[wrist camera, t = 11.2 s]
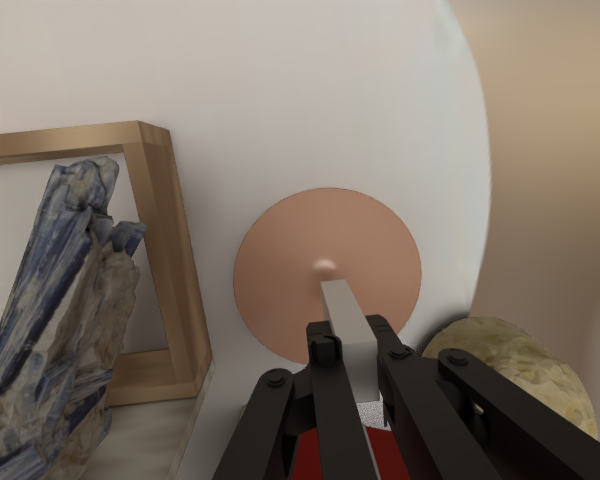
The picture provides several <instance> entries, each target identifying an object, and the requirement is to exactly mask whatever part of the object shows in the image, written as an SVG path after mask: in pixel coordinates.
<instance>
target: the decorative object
mask: <svg viewBox="0 0 600 480" xmlns="http://www.w3.org/2000/svg"><path fill="white" fill-rule="evenodd" d="M446 348H458V349H461V350H465V351H467V352H469V353H471V354H472V355H474V356H475V357H477V358H478V359H480V360H481V361H483V362H484V363H486V364H487V365H488V366H490V367H491V368H493V369H494V370H496V371H497V372H499V373H500V374H501V375H503V376H504V377H506V378H507V379H509V380H510V381H512V382H513V383H514V384H516V385H517V386H519V387H520V388H522V389H523V390H525V391H526V392H527V393H529V394H530V395H532V396H533V397H535V398H536V399H538V400H539V401H541V402H542V403H543V404H545V405H546V406H548V407H549V408H551V409H552V410H554V411H555V412H556V413H558V414H559V415H561V416H562V417H564V418H565V419H567V420H568V421H569V422H571V423H572V424H574V425H575V426H577V427H578V428H580V429H581V430H583V431H584V432H585V433H587V434H588V435H590V436H591V437H593V438H594V439H596V440H597V438H598V434H597V427H596V423H595V421H596V420H595V415H594V412H593V407H592V405H591V402H590V399H589V397H588V395H587V393H586V391H585V388H584V386H583V384H582V382H581V381H580V379H579V378H578V376H577V375H576V374H575V373H574V371H573V370H572V369H571V368H570V367H569V366H568V365H567V364H566V363H565V362H563V361H561V360H559V359H558V358H556V357H555V356H554V355H553V354H552V353H551V352H550V351H549V350H548V349H547V348H546V347H545V346H544V345H542V344H541V343H540V342H538V340H536V339H535V338H534V337H532V336H531V335H530V334H529V333H527V332H526V331H524V330H523V329H521V328H518V327H517V326H515V325H513V324H510V323H508V322H506V321H504V320H501V319H498V318H494V317H474V318H463V319H461V320H458V321H455V322H453V323H451V324H450V325H449V326H448V327H447V328H446V329H445V328H442V331H441V332H439V333H437V334H436V335H435V337H434V338H433V339H432V340H431V341H430V343H429V344H428V345H427V347H426V348H425V350H424V352H423V353H422V356H421V357H426V358H436V359H438V353H439V352H440V351H441V350H443V349H446ZM476 407H477V408H478V409H479V410H480V411H481V412H483V410H482V409H481V408H480V407H479V406H478V405H477V404H476Z"/></svg>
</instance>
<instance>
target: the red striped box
mask: <svg viewBox="0 0 600 480" xmlns="http://www.w3.org/2000/svg"><path fill="white" fill-rule="evenodd" d="M246 406H247V405H246ZM246 406H245V407H243V409H242V411H241V415H240V419H241V417H242V414H243V412H244V410H245V408H246ZM240 419H239V421H240ZM238 423H239V422H238ZM362 426H363V430H364V433H365V436H366V440H367V443H368V447H369V450H370V453H371V457H372V460H373V464H374V467H375V471H376V474H377V477H378V480H411V479H410V476H409V474H408V471H407V469H406V466H405V463H404V461H403V458H402V456H401V453H400V451H399V448H398V446H397V443H396V440H395V438H394V435H393V433H392V431H388V430H383V429H377V428H372V427H367V426H365V425H364V424H363V423H362ZM292 480H323V479H322V471H321V462H320V453H319V444H318V436H317V427H316V428H314V429H311V430H309V431H307V432H305V433H302V434H300V444H299V448H298V453H297V457H296V462H295V466H294V471H293V476H292Z"/></svg>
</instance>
